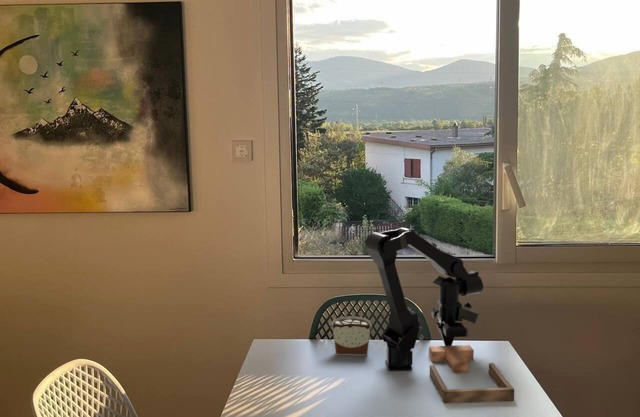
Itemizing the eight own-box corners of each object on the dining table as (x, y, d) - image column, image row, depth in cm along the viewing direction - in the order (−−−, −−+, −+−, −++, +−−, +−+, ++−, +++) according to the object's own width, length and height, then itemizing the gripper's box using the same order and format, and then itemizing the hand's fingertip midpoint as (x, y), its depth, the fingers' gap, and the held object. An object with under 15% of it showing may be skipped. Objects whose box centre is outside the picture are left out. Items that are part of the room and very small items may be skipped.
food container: (372, 347, 187) (372, 316, 185) (372, 355, 181) (372, 323, 179) (332, 346, 188) (332, 315, 186) (330, 354, 182) (330, 322, 180)
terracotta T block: (439, 373, 168) (439, 362, 167) (429, 356, 180) (429, 346, 179) (482, 371, 168) (482, 361, 168) (469, 354, 180) (469, 345, 180)
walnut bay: (444, 403, 150) (444, 391, 150) (429, 375, 166) (429, 365, 166) (514, 400, 151) (514, 389, 151) (492, 373, 167) (493, 363, 167)
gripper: (486, 307, 169) (485, 361, 172) (467, 288, 188) (466, 336, 190) (446, 308, 169) (446, 362, 171) (431, 289, 187) (430, 338, 190)
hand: (448, 349), depth 181 cm, fingers closed
